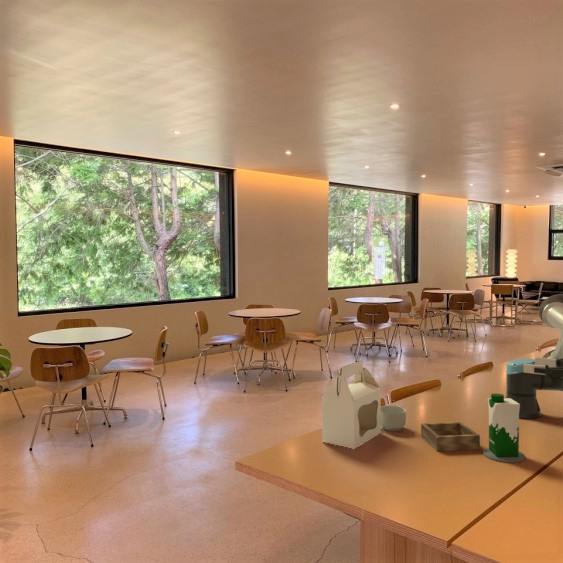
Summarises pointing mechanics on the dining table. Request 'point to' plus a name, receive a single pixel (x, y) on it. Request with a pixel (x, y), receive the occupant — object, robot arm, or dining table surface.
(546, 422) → the dining table surface
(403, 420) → the teacup
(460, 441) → the walnut crate
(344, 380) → the gable box
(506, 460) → the grey coaster
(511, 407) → the soya milk
